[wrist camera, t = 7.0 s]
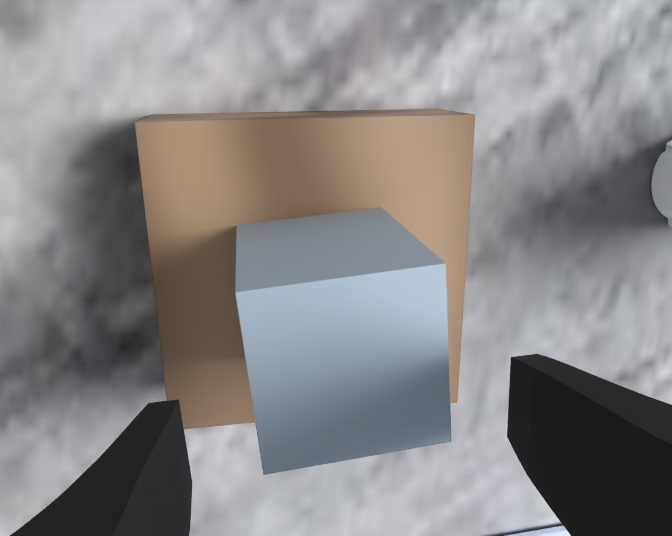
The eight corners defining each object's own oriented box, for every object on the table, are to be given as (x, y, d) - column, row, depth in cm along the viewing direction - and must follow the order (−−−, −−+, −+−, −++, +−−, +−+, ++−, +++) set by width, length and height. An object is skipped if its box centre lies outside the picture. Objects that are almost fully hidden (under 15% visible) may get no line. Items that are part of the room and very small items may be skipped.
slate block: (381, 207, 18) (445, 263, 12) (390, 338, 20) (451, 441, 14) (236, 225, 18) (235, 292, 12) (256, 358, 19) (263, 474, 13)
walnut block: (433, 108, 21) (475, 114, 18) (423, 352, 25) (457, 402, 21) (154, 113, 20) (134, 122, 16) (181, 372, 23) (170, 430, 19)
